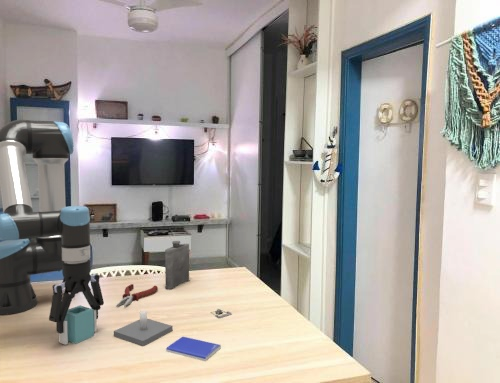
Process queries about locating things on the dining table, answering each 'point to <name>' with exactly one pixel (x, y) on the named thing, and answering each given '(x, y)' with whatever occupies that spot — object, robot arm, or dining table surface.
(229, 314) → the grey rectangular frame
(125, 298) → the pliers
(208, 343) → the hard drive
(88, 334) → the block with square hole
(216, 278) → the dining table surface
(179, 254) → the flask
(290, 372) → the dining table surface
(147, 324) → the pin base
